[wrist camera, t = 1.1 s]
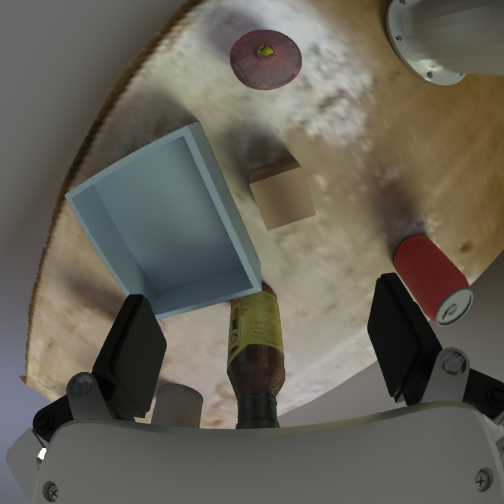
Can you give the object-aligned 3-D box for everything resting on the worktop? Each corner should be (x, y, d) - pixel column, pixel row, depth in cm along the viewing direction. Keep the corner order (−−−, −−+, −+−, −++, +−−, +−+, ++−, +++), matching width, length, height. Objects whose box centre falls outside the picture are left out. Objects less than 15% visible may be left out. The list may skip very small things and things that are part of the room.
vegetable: (221, 59, 23) (205, 38, 14) (270, 28, 21) (279, -5, 13) (256, 103, 26) (259, 102, 17) (305, 72, 24) (332, 58, 15)
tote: (199, 121, 26) (187, 125, 22) (260, 263, 35) (261, 290, 30) (89, 179, 29) (64, 195, 24) (157, 295, 38) (146, 322, 33)
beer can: (383, 262, 35) (421, 323, 25) (411, 224, 32) (462, 276, 22) (411, 279, 37) (448, 335, 26) (437, 245, 34) (483, 295, 23)
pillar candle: (212, 402, 53) (206, 464, 40) (177, 409, 55) (168, 465, 42) (183, 379, 48) (171, 447, 35) (148, 387, 51) (133, 448, 38)
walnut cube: (293, 156, 28) (301, 166, 24) (306, 197, 31) (316, 214, 26) (249, 171, 29) (249, 184, 25) (265, 211, 32) (267, 230, 27)
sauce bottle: (229, 281, 36) (215, 423, 19) (277, 278, 36) (294, 421, 19) (234, 318, 40) (227, 448, 23) (278, 315, 40) (290, 446, 22)
